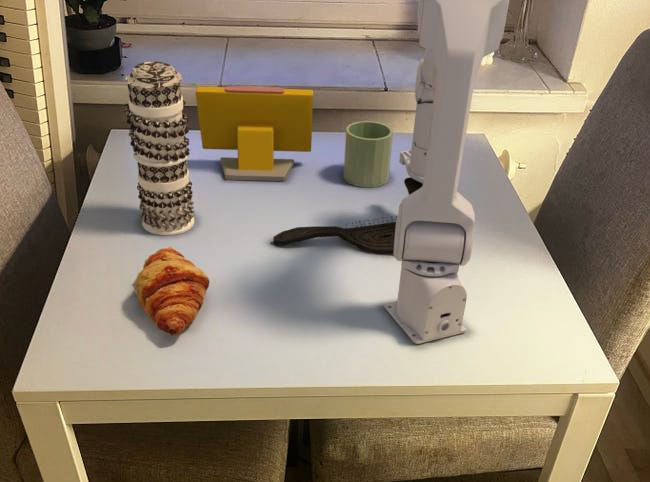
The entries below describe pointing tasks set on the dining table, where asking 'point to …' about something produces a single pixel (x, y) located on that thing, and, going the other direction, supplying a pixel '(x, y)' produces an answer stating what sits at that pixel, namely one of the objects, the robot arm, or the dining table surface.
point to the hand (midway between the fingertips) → (420, 221)
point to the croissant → (171, 290)
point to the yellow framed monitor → (255, 128)
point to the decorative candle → (160, 147)
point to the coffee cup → (367, 153)
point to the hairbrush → (346, 236)
